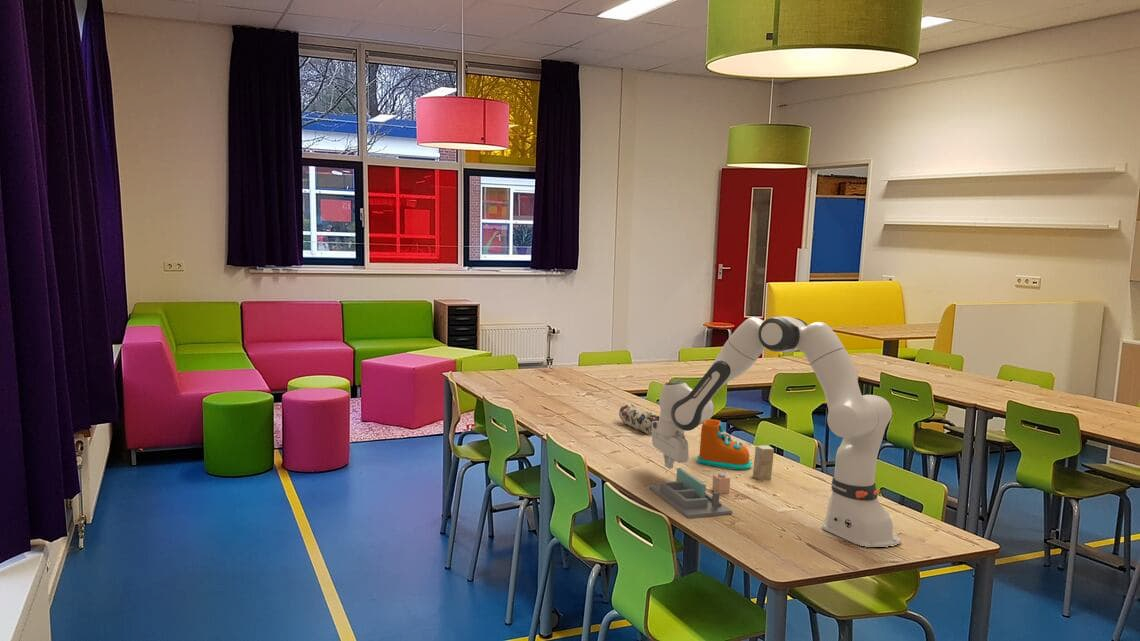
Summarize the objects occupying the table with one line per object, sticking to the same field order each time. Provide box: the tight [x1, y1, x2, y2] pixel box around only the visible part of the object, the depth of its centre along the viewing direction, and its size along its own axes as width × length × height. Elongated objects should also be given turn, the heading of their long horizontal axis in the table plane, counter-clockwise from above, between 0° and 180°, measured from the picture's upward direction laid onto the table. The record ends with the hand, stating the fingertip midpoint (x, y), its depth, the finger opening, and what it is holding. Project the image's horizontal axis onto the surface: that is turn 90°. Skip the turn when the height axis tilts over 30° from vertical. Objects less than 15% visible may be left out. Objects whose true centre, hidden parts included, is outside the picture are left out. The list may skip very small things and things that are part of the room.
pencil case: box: [618, 401, 660, 436], centre depth 329 cm, size 22×8×10 cm, turn 27°
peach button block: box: [711, 472, 731, 494], centre depth 255 cm, size 4×4×6 cm
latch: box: [675, 467, 707, 498], centre depth 251 cm, size 17×1×4 cm, turn 20°
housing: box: [649, 480, 733, 519], centre depth 245 cm, size 26×15×6 cm, turn 20°
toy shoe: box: [696, 418, 752, 471], centre depth 285 cm, size 12×20×15 cm, turn 70°
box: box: [752, 445, 775, 481], centre depth 271 cm, size 5×4×11 cm
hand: (668, 467), depth 266 cm, fingers closed
